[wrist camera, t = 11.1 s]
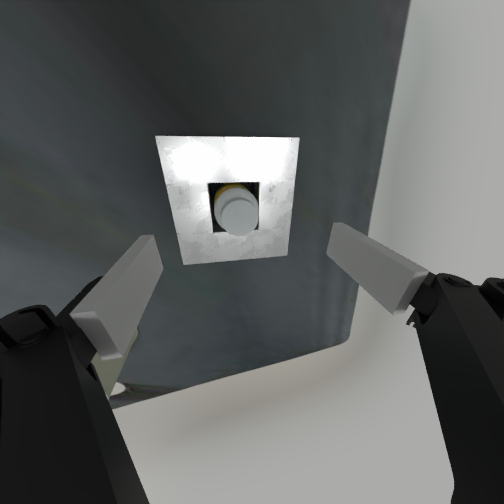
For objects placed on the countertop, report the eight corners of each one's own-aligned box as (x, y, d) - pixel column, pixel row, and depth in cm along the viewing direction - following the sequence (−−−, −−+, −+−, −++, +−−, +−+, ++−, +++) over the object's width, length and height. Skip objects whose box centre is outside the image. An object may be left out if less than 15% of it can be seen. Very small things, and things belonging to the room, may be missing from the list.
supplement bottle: (215, 217, 28) (215, 243, 19) (213, 180, 25) (211, 192, 17) (249, 216, 29) (263, 241, 20) (250, 180, 26) (266, 192, 18)
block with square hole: (164, 139, 22) (155, 135, 19) (287, 140, 24) (299, 137, 21) (187, 252, 30) (183, 264, 26) (279, 244, 32) (287, 255, 29)
